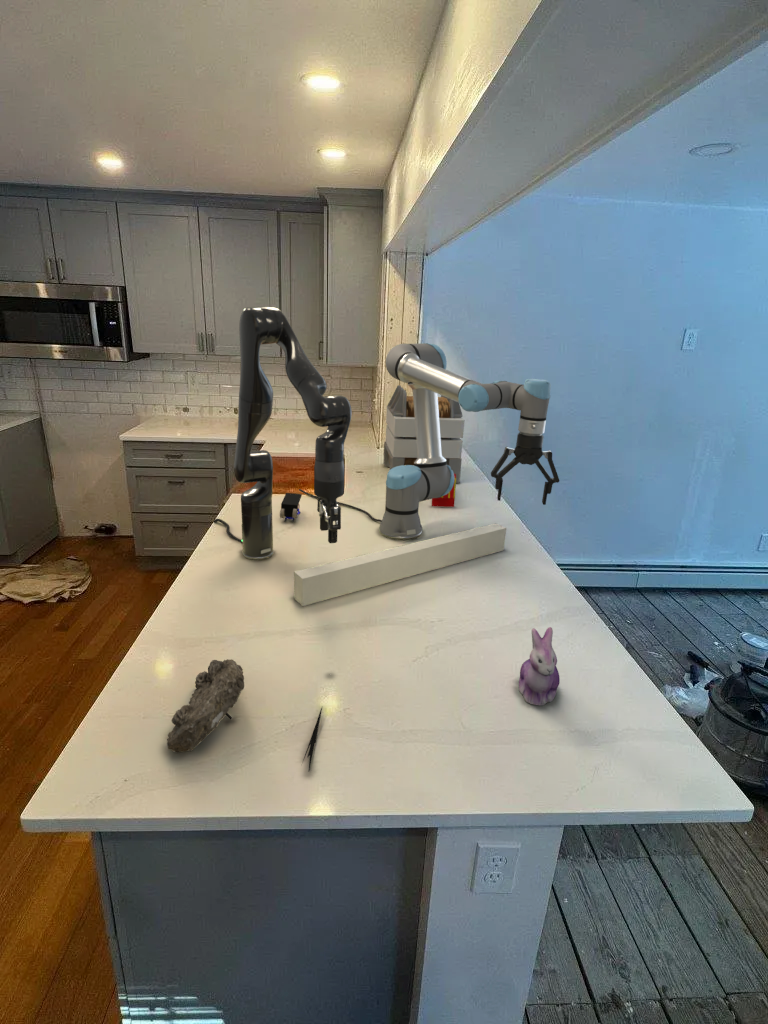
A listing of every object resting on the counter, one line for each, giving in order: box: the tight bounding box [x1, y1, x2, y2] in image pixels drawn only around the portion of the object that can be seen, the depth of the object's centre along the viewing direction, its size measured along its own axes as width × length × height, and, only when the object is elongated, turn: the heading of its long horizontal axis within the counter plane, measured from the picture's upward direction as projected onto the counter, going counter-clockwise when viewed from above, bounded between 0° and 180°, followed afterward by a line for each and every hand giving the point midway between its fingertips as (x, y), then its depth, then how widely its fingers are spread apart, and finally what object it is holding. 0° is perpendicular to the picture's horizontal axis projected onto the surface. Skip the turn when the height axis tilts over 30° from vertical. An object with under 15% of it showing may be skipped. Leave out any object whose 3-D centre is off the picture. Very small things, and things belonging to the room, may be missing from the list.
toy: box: [431, 474, 457, 508], centre depth 240 cm, size 12×13×30 cm
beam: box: [293, 522, 507, 607], centre depth 170 cm, size 75×5×8 cm, turn 125°
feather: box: [301, 673, 332, 771], centre depth 108 cm, size 2×28×2 cm
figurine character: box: [279, 492, 302, 523], centre depth 209 cm, size 7×8×15 cm
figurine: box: [518, 626, 561, 706], centre depth 117 cm, size 9×10×15 cm
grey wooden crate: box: [383, 384, 465, 484], centre depth 268 cm, size 34×33×41 cm
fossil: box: [166, 658, 245, 754], centre depth 106 cm, size 22×10×15 cm
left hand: (328, 536), depth 147 cm, fingers open, 8 cm apart
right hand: (521, 501), depth 174 cm, fingers open, 13 cm apart
